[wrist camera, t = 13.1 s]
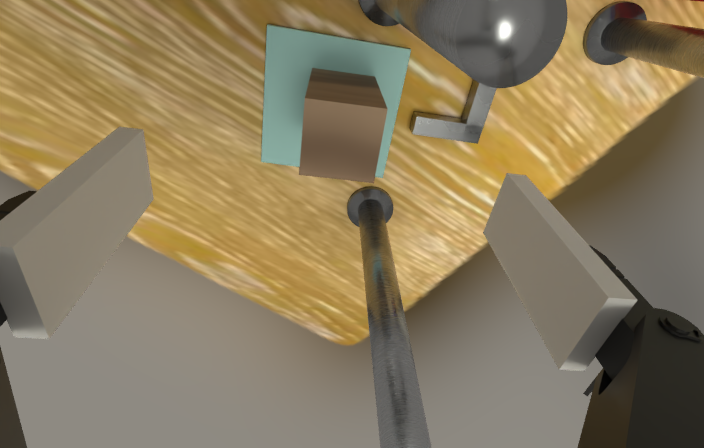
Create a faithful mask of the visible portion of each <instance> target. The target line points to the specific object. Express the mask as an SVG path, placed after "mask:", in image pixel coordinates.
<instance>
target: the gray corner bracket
mask: <svg viewBox="0 0 704 448" xmlns="http://www.w3.org/2000/svg"><path fill="white" fill-rule="evenodd" d="M495 91H496V88H492V87H488V86H485V85H482V84H480V83H478V82H477V81H475V80H473V83H472V86H471V89H470V93H469V96H468V99H467V102H466V105H465V109H464V112H463V115H462V118H455V117H449V116H442V115H436V114H429V113H423V112H416V111H414V112H413V117H412V121H411V125H410V130H411V132H412V134H416V135H423V136H430V137H436V138H443V139H450V140H457V141H464V142H471V143H477V144H478V141H479V138H480V135H481V132H482V129H483V126H484V123H485V121H486V118H487V115H488V112H489V109H490V106H491V103H492V100H493V97H494V94H495Z"/></svg>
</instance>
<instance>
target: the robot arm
mask: <svg viewBox="0 0 704 448" xmlns="http://www.w3.org/2000/svg"><path fill="white" fill-rule="evenodd" d="M152 201H153V193H152V186H151V179H150V172H149V165H148V159H147V152H146V145H145V138H144V132H143V129H134V128H126V127H118V128H117V129H116V130H115V131H113V132H112V133H111V134H110V135H108V136H107V137H106V138H104V139H103V140H102V141H101V142H99V143H98V144H97V145H96V146H94V147H93V148H92V149H90V150H89V151H88V152H87V153H85V154H84V155H83V156H82V157H80V158H79V159H78V160H77V161H75V162H74V163H73V164H71V165H70V166H69V167H68V168H66V169H65V170H64V171H63V172H61V173H60V174H59V175H57V176H56V177H55V178H54V179H52V180H51V181H50V182H49V183H47V184H46V185H45V186H44V187H42V188H41V189H40V190H38V191H28V192H26V193H23V194H21V195H18V196H16V197H13V198H11V199H8V200H7V201H6V202H4V203H3V204H2V205H0V326H1V325H2V324H3V323H4V322H5V321H6V320H7V322H8V324H9V326H10V328H11V330H12V332H13V335H14V337H25V338H40V339H50V338H51V336H52V335H53V334H54V332H55V331H56V330H57V328H58V327H59V326H60V324H61V323H62V321H63V320H64V319H65V318H66V316H67V315H68V314H69V312H70V311H71V309H72V308H73V307H74V306H75V304H76V303H77V301H78V300H79V299H80V297H81V296H82V295H83V293H84V292H85V291H86V289H87V288H88V286H89V285H90V284H91V283H92V281H93V280H94V278H95V277H96V276H97V275H98V273H99V272H100V271H101V269H102V268H103V267H104V265H105V264H106V262H107V261H108V260H109V258H110V257H111V256H112V254H113V253H114V252H115V250H116V249H117V248H118V246H119V245H120V244H121V242H122V241H123V240H124V238H125V237H126V236H127V234H128V233H129V232H130V230H131V229H132V227H133V226H134V225H135V223H136V222H137V221H138V219H139V218H140V217H141V215H142V214H143V213H144V211H145V210H146V209H147V207H148V206H149V205H150V203H151V202H152ZM483 233H484V235H485V237H486V239H487V240H488V242H489V244H490V246H491V247H492V249H493V251H494V253H495V255H496V257H497V258H498V260H499V262H500V264H501V266H502V267H503V269H504V271H505V273H506V274H507V276H508V278H509V280H510V282H511V284H512V285H513V287H514V289H515V291H516V293H517V294H518V296H519V298H520V300H521V302H522V303H523V305H524V307H525V309H526V310H527V312H528V314H529V316H530V318H531V320H532V321H533V323H534V325H535V327H536V329H537V331H538V332H539V334H540V336H541V338H542V340H543V341H544V343H545V345H546V347H547V349H548V350H549V352H550V354H551V356H552V358H553V359H554V361H555V363H556V365H557V367H558V368H559V369H560V370H575V371H585V370H586V368H587V367H588V366H589V364H590V363H591V362H592V360H593V359H594V358H595V356H596V358H597V359H598V361H599V362H600V364H601V365H602V367H603V369H602V370H601V372H600V373H599V374H598V376H597V377H596V378H595V379H594V381H593V382H592V383H591V384H590V386H589V387H588V388H587V390H586V391H585V392H584V394H585V395H586V396H588V395H589V394H590V393H591V392H592V395H591V399H590V403H589V407H588V410H587V415H586V418H585V422H584V425H583V429H582V433H581V437H580V441H579V444H578V448H704V335H703V334H702V333H701V331H700V330H699V329H698V328H697V327H696V326H694V325H693V324H692V323H691V322H689V321H688V320H686V319H685V318H683V317H681V316H679V315H677V314H675V313H673V312H670V311H667V310H663V309H657V308H653V307H652V306H651V305H650V304H649V303H648V302H647V301H646V299H644V297H643V296H642V295H641V294H640V293H639V292H638V291H637V290H636V289H635V288H634V286H633V285H631V283H630V282H629V281H628V280H627V279H624V276H623V274H622V273H621V272H620V271H619V270H616V267H615V266H614V265H613V264H612V263H611V261H609V260H608V258H607V257H606V256H605V255H603V254H602V253H600V252H599V251H598V250H596V249H595V248H593V247H592V246H589V245H588V244H587V243H586V242H585V241H584V240H583V239H582V237H581V236H580V235H579V234H578V233H577V232H576V231H575V230H574V228H573V227H572V226H571V225H570V224H569V223H568V222H567V221H566V220H565V219H564V217H563V216H562V215H561V214H560V213H559V212H558V211H557V210H556V208H555V207H554V206H553V205H552V204H551V203H550V202H549V201H548V200H547V198H546V197H545V196H544V195H543V194H542V193H541V192H540V191H539V190H538V188H537V187H536V186H535V185H534V184H533V183H532V182H531V181H530V179H529V178H528V177H527V176H526V175H518V174H510V173H507V174H506V177H505V179H504V182H503V184H502V187H501V189H500V192H499V194H498V197H497V199H496V202H495V204H494V207H493V209H492V212H491V214H490V217H489V219H488V222H487V224H486V227H485V229H484V232H483ZM0 448H27V446H26V442H25V438H24V434H23V430H22V427H21V423H20V419H19V415H18V411H17V408H16V404H15V400H14V396H13V393H12V389H11V385H10V381H9V377H8V374H7V370H6V366H5V362H4V359H3V355H2V351H1V347H0Z"/></svg>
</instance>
